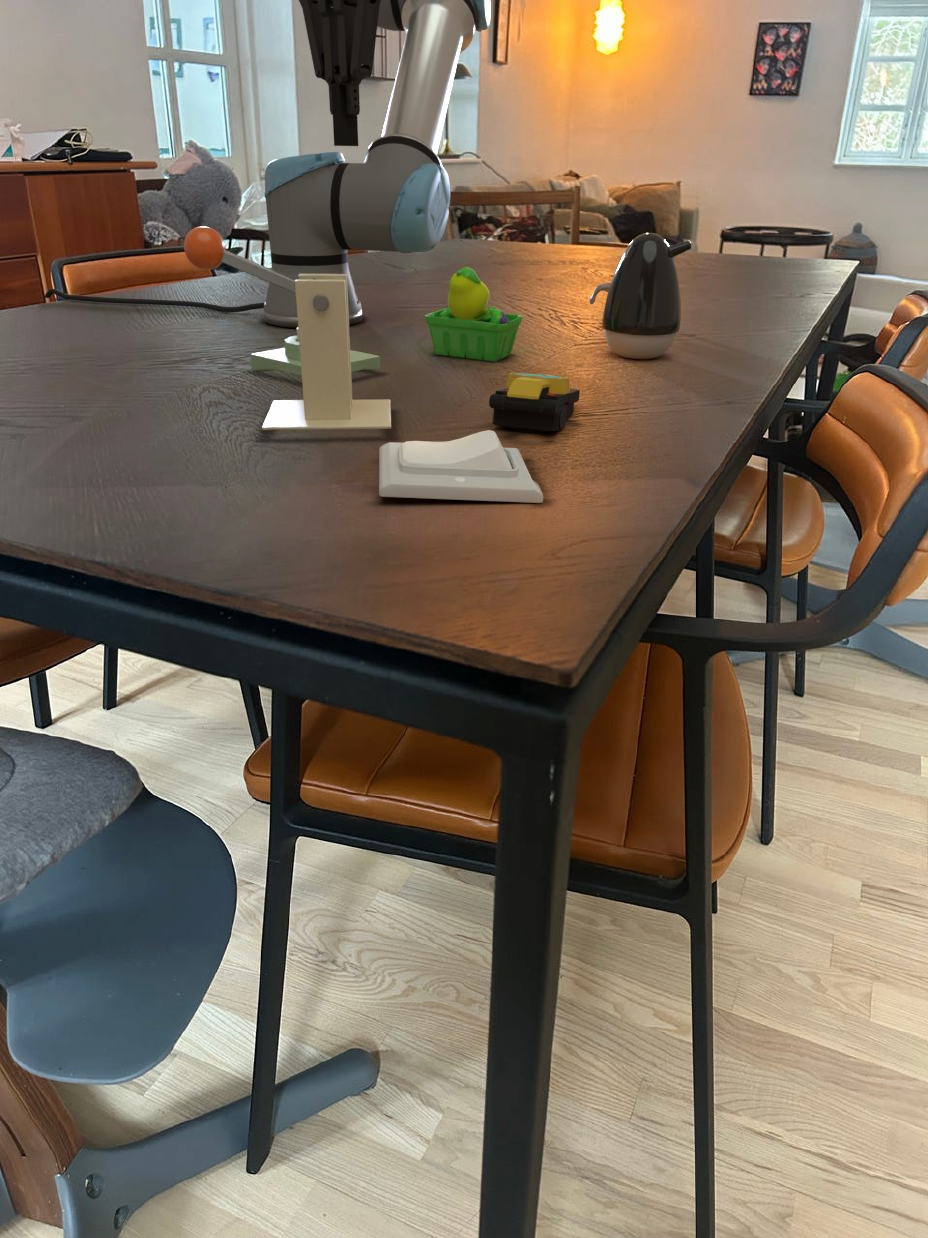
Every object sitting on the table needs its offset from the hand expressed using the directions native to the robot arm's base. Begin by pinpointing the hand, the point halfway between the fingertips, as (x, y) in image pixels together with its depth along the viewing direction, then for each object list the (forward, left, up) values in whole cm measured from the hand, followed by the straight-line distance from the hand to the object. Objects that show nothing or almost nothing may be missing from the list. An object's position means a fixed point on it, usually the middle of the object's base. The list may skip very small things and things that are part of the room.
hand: (346, 145), depth 109 cm
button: (+8, -14, -21) cm, 26 cm away
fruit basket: (+15, +7, -25) cm, 30 cm away
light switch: (+46, -32, -25) cm, 61 cm away
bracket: (+26, -28, -24) cm, 45 cm away
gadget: (+42, -15, -25) cm, 51 cm away
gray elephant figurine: (+19, +40, -25) cm, 51 cm away
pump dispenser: (+31, +23, -25) cm, 46 cm away
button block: (+8, -14, -24) cm, 29 cm away
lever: (+22, -32, -12) cm, 41 cm away
